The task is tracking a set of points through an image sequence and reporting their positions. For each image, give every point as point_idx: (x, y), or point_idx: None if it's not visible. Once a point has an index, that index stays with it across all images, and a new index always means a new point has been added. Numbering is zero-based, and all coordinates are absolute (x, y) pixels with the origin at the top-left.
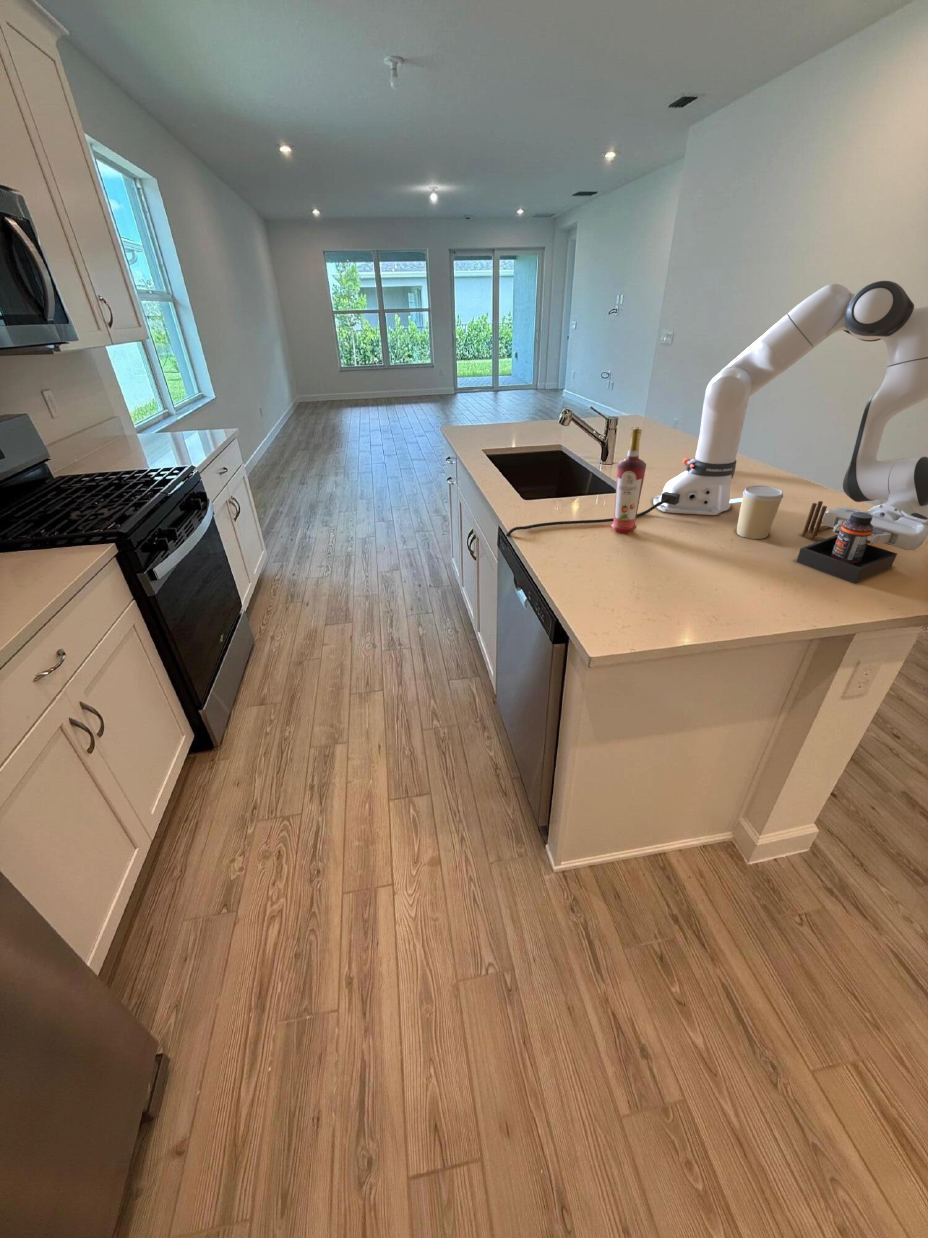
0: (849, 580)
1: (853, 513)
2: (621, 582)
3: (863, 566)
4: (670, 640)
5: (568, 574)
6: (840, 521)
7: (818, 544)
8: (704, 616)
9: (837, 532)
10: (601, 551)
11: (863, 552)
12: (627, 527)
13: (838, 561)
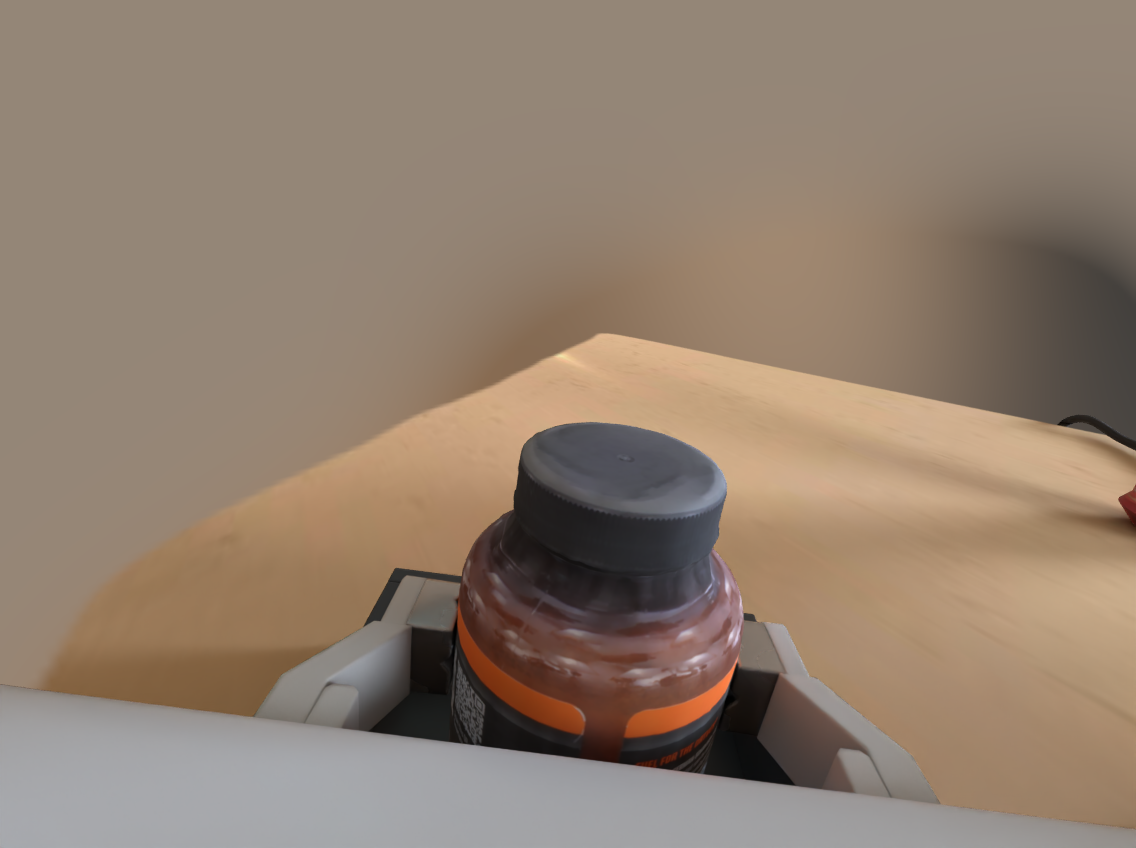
0: None
1: (689, 449)
2: (773, 398)
3: (390, 597)
4: (574, 352)
5: (833, 389)
6: (863, 732)
7: None
8: (593, 384)
9: None
10: (954, 444)
11: None
12: (1133, 496)
13: None
